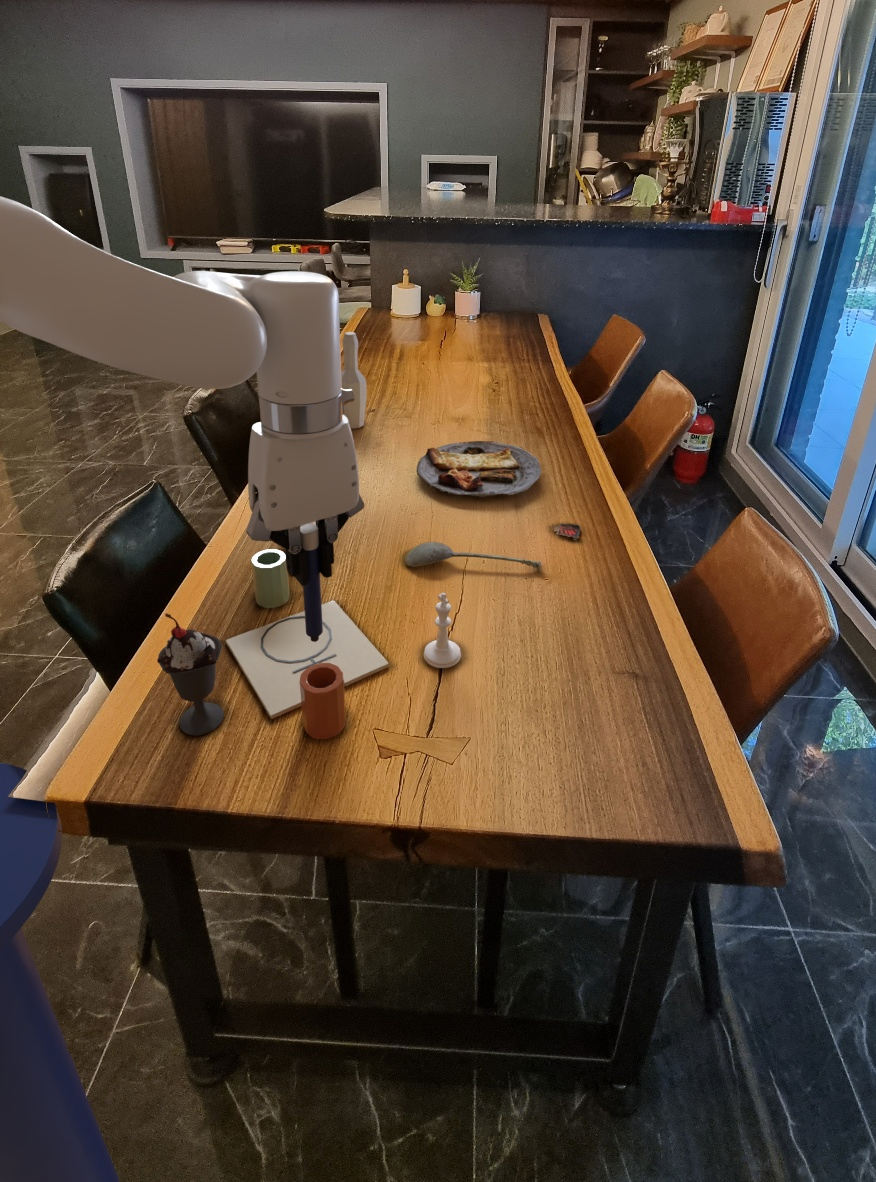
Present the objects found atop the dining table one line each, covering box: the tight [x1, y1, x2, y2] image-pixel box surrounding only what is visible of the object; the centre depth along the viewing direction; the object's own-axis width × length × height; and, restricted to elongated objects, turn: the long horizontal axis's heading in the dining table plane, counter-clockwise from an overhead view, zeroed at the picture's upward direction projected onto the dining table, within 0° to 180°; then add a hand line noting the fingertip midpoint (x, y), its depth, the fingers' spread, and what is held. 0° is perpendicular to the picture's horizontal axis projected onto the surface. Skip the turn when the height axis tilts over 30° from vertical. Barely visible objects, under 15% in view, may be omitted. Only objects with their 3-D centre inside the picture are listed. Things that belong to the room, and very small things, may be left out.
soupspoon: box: [404, 541, 542, 572], centre depth 111 cm, size 22×3×7 cm
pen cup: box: [250, 548, 291, 609], centre depth 101 cm, size 5×5×7 cm
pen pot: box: [300, 663, 347, 740], centre depth 80 cm, size 5×5×7 cm
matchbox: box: [553, 523, 582, 541], centre depth 121 cm, size 5×5×1 cm
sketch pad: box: [225, 599, 390, 720], centre depth 91 cm, size 16×16×1 cm
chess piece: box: [423, 592, 462, 669], centre depth 90 cm, size 5×5×10 cm
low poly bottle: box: [341, 331, 368, 430], centre depth 158 cm, size 6×6×22 cm
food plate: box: [416, 440, 542, 499], centre depth 140 cm, size 25×23×4 cm
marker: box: [300, 524, 323, 642], centre depth 73 cm, size 2×2×14 cm
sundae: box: [156, 612, 225, 736], centre depth 78 cm, size 7×7×15 cm
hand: (311, 573), depth 72 cm, fingers closed on marker, 2 cm apart
